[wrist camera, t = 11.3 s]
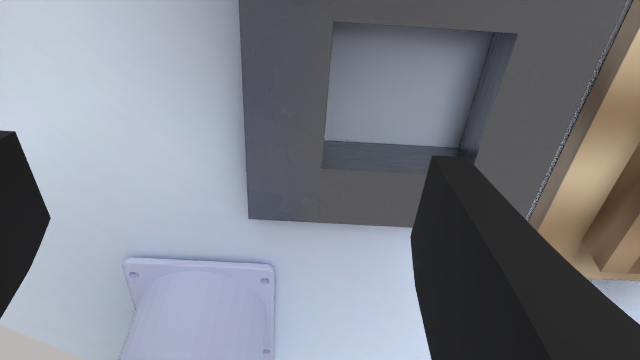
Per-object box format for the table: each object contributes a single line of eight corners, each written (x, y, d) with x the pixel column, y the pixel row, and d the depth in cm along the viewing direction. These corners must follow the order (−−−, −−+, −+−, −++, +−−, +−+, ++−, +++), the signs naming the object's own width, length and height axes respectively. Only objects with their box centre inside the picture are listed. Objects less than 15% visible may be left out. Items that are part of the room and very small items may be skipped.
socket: (505, 203, 23) (518, 232, 21) (254, 189, 22) (248, 218, 21) (622, -77, 15) (655, -62, 14) (244, -105, 15) (234, -92, 13)
